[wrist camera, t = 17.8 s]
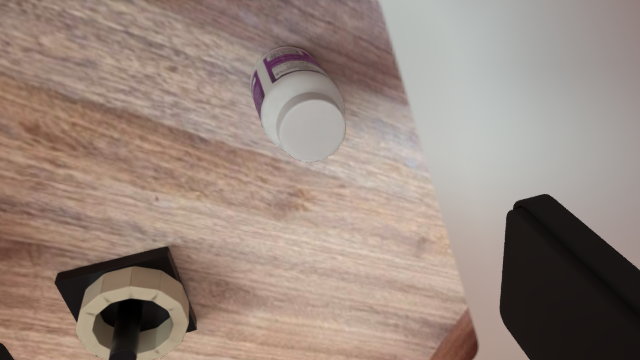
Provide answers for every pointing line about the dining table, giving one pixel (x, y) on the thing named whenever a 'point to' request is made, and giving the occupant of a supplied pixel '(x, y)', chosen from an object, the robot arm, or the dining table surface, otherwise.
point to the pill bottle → (298, 104)
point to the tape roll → (134, 286)
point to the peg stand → (126, 313)
